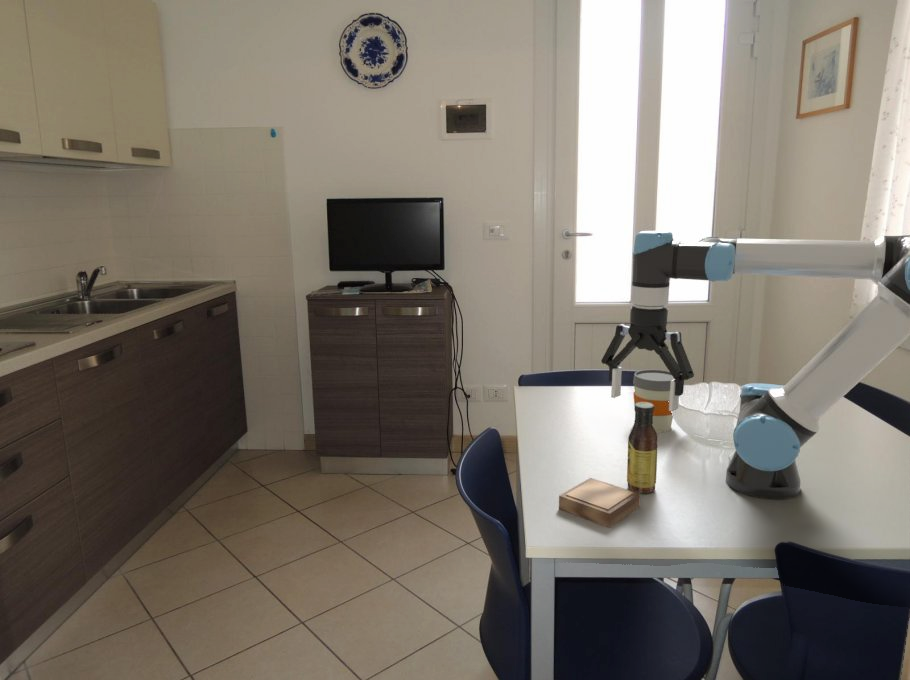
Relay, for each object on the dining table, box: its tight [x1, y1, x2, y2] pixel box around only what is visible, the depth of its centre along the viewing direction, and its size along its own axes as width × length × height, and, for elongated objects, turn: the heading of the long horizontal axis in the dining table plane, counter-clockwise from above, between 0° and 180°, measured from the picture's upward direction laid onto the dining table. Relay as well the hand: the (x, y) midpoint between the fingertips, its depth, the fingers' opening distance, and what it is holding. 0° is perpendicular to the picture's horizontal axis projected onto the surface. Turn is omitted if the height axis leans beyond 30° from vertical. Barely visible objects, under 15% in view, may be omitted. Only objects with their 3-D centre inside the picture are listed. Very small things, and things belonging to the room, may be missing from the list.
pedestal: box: [558, 477, 641, 529], centre depth 140 cm, size 12×12×3 cm
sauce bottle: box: [626, 402, 658, 494], centre depth 147 cm, size 7×6×20 cm
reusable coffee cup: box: [632, 369, 674, 433], centre depth 186 cm, size 12×13×15 cm
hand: (643, 402), depth 145 cm, fingers open, 13 cm apart
